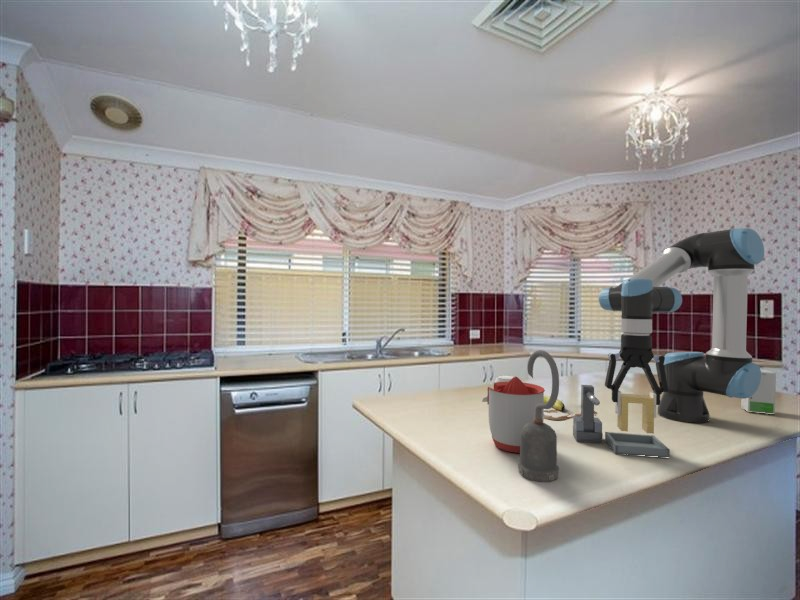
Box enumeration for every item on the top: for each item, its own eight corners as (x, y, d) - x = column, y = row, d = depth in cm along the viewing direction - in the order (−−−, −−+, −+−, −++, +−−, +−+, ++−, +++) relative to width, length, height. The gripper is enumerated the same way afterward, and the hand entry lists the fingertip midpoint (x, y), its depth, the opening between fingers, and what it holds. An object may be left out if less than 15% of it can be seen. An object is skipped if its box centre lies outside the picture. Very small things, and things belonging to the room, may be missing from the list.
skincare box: (747, 413, 148) (748, 370, 148) (740, 408, 154) (740, 367, 154) (776, 415, 145) (777, 372, 144) (767, 410, 151) (768, 369, 151)
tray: (654, 444, 116) (654, 435, 116) (669, 459, 106) (669, 449, 106) (605, 440, 119) (605, 431, 119) (615, 454, 109) (615, 445, 109)
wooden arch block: (648, 428, 113) (648, 395, 113) (653, 433, 109) (654, 398, 109) (617, 426, 115) (617, 393, 115) (621, 431, 111) (621, 396, 111)
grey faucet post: (597, 436, 122) (597, 384, 122) (610, 455, 108) (610, 396, 108) (572, 434, 124) (573, 383, 124) (582, 452, 110) (582, 394, 110)
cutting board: (609, 414, 147) (609, 404, 147) (553, 424, 135) (553, 413, 135) (539, 393, 179) (539, 385, 178) (489, 400, 167) (489, 391, 167)
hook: (538, 489, 89) (539, 354, 88) (508, 467, 100) (509, 347, 100) (575, 483, 92) (576, 352, 91) (542, 462, 103) (543, 346, 103)
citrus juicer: (491, 432, 126) (491, 369, 126) (549, 442, 117) (549, 374, 117) (473, 448, 112) (474, 377, 112) (538, 461, 104) (538, 384, 103)
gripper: (672, 334, 113) (671, 414, 113) (592, 331, 118) (591, 408, 118) (684, 336, 106) (683, 422, 106) (598, 334, 111) (597, 415, 111)
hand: (635, 414), depth 112 cm, fingers closed on wooden arch block, 8 cm apart
